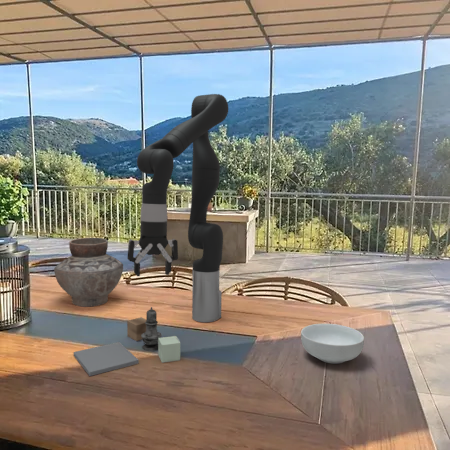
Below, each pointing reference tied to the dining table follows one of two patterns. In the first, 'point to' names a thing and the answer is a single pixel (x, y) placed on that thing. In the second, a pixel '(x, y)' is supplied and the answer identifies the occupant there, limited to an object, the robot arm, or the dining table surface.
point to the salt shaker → (151, 331)
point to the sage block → (169, 349)
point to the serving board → (105, 358)
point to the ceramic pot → (89, 272)
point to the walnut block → (136, 328)
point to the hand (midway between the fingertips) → (152, 275)
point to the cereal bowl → (332, 342)
